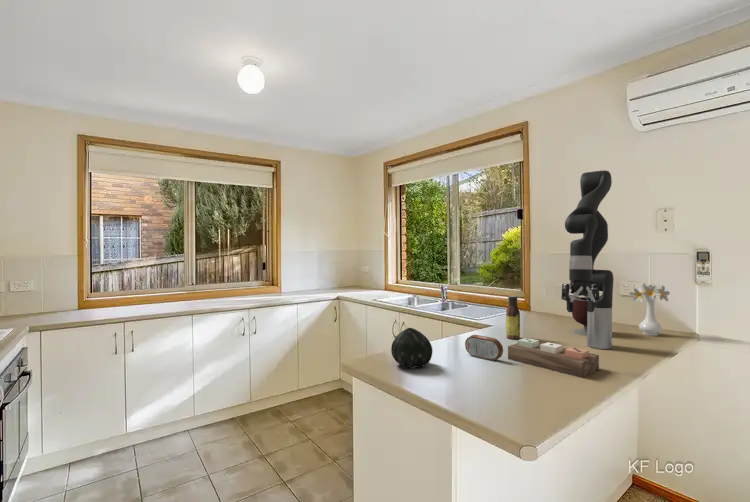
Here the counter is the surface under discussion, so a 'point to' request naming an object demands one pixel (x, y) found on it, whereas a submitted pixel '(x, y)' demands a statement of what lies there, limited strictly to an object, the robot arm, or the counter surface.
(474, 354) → the tin
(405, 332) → the squash
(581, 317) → the mate gourd
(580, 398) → the counter surface
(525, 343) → the two dot button
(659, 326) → the flower vase
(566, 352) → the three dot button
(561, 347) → the one dot button
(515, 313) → the sauce bottle
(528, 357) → the console
